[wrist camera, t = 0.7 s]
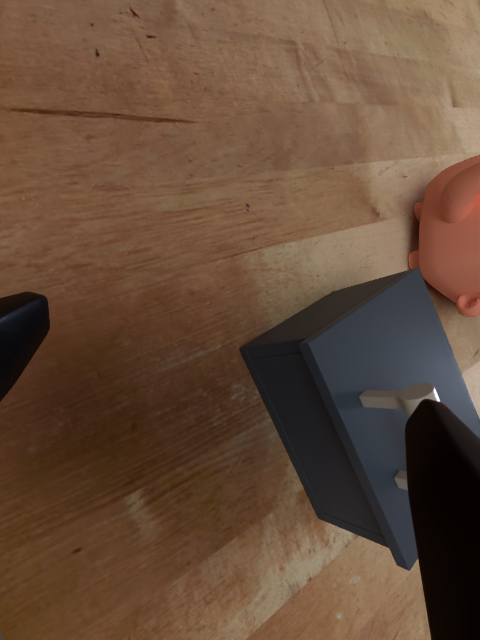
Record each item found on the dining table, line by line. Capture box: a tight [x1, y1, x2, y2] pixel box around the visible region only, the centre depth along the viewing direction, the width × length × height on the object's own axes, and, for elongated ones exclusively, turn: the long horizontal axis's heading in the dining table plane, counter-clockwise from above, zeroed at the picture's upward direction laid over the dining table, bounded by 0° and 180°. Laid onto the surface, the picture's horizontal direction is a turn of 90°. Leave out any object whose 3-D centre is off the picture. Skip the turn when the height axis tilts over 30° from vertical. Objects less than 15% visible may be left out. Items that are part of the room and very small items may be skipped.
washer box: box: [239, 271, 406, 548], centre depth 26 cm, size 11×14×7 cm
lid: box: [298, 268, 480, 571], centre depth 21 cm, size 11×14×5 cm
